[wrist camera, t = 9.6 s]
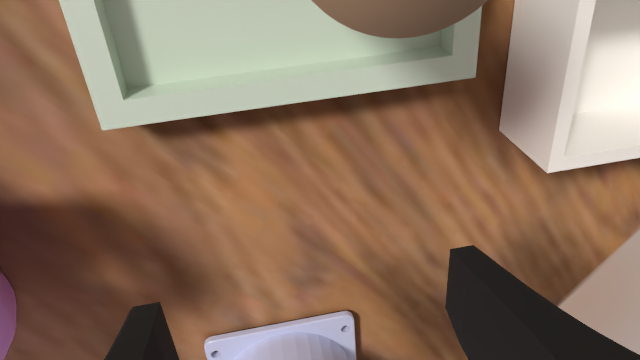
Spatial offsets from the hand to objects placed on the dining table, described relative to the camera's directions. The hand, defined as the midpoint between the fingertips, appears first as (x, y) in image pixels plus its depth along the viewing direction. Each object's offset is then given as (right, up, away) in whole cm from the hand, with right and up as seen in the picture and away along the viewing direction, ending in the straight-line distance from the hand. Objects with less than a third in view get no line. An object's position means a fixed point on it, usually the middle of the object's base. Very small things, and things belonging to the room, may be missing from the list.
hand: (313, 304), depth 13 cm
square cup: (+12, +9, +9) cm, 18 cm away
